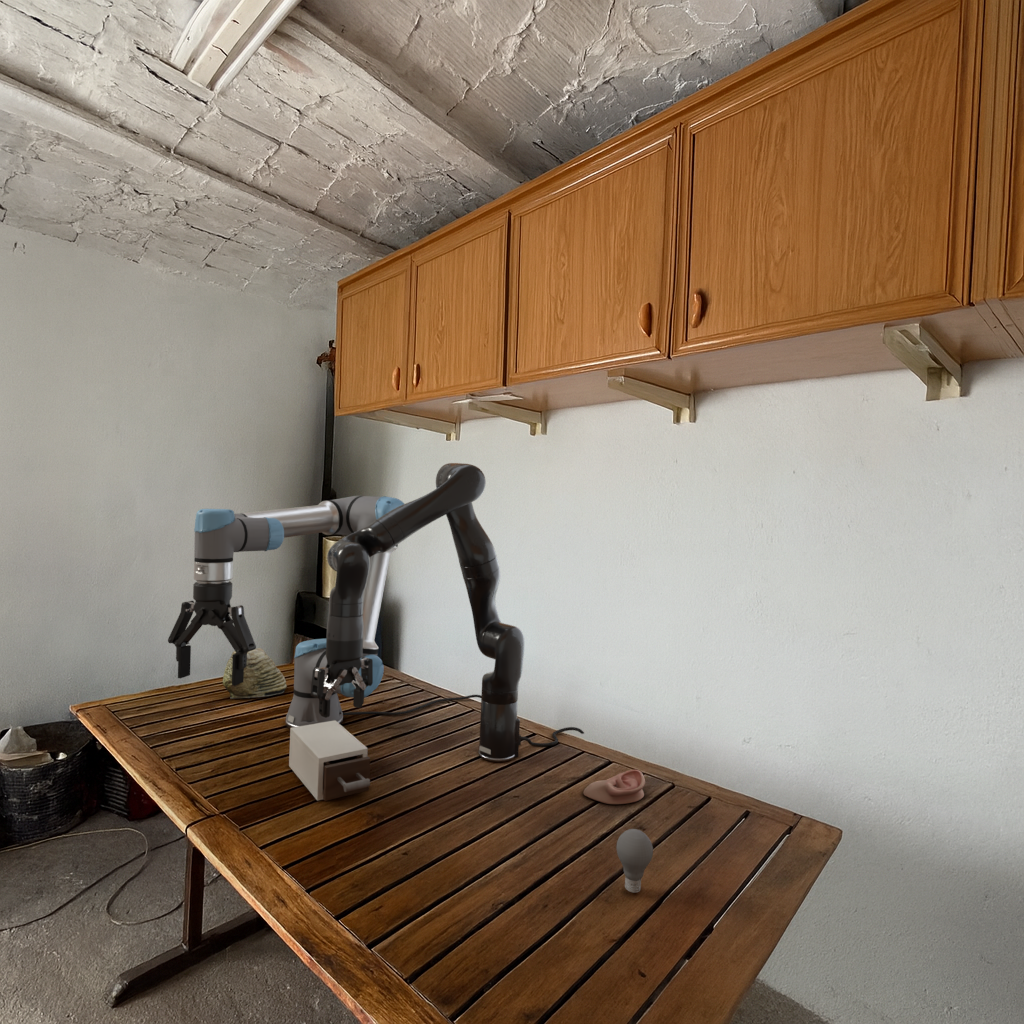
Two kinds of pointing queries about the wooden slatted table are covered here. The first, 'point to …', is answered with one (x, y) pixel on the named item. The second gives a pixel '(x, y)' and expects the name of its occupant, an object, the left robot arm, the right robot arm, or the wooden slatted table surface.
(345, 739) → the cabinet
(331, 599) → the right robot arm
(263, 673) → the fossil
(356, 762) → the drawer
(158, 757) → the wooden slatted table surface
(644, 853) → the light bulb
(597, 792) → the anatomical model
